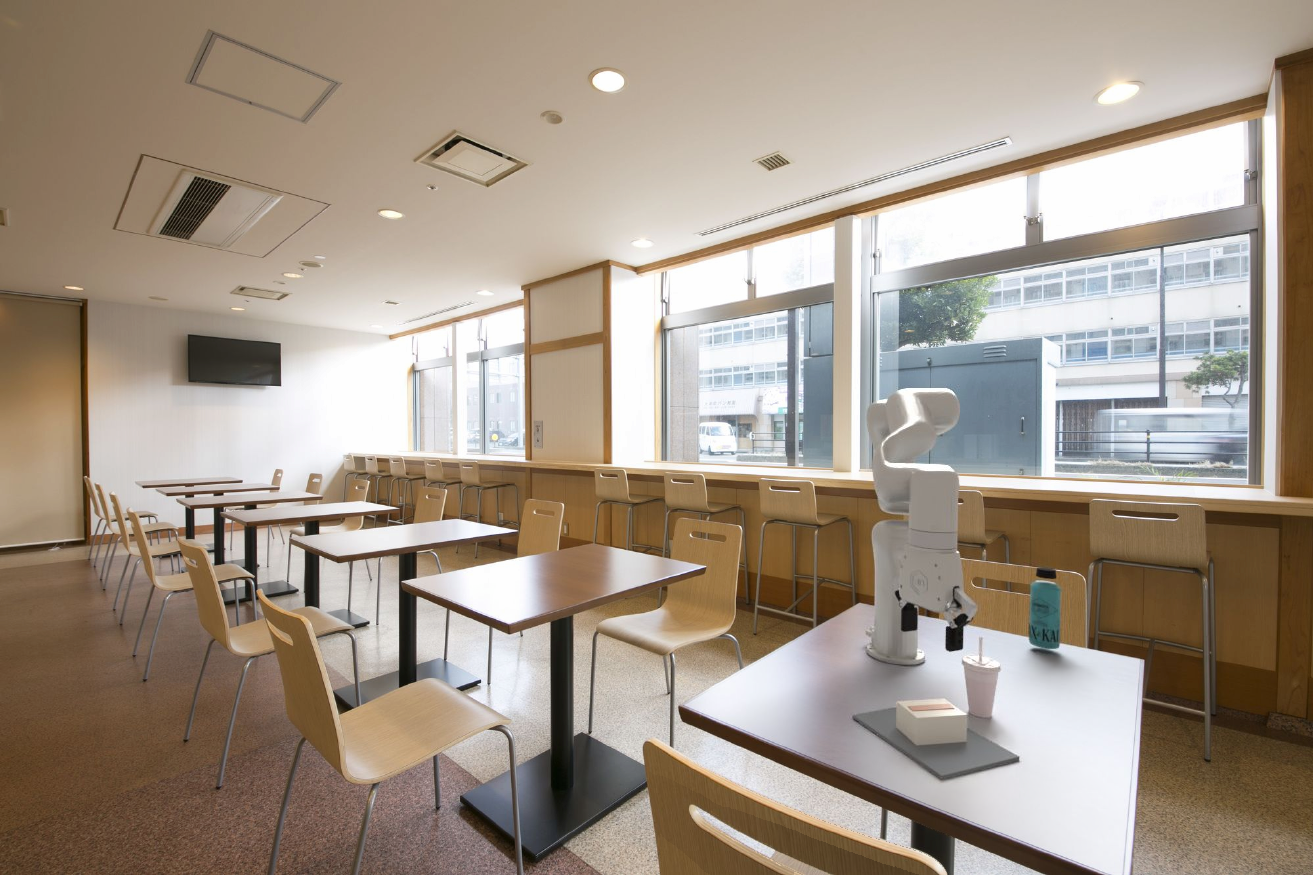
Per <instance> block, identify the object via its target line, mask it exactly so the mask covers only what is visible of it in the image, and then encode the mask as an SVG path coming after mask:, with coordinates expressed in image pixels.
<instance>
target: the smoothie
mask: <svg viewBox="0 0 1313 875" xmlns="http://www.w3.org/2000/svg"><path fill="white" fill-rule="evenodd" d="M961 665H962V666H963V670H964V679H965V689H966V695H967V697H966V698H967V706H968V712H969V713H970V714H972V716H975V717H977V718H983V719H988V718H991V717H992V716H993V714H992V713H993V708H994V704H995V703H994V702H995V696H996V690H997V684H998V679H999V678H998V677H999V673H1000V672H1001V670H1002V668H1001V663H1000V662H999V661H998V660H996V659H994V658H991V657H989V656H983V636H982V635H981V636H980V635H979V637H978V655H977V654H968V655H964V656H962V658H961Z"/></svg>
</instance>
